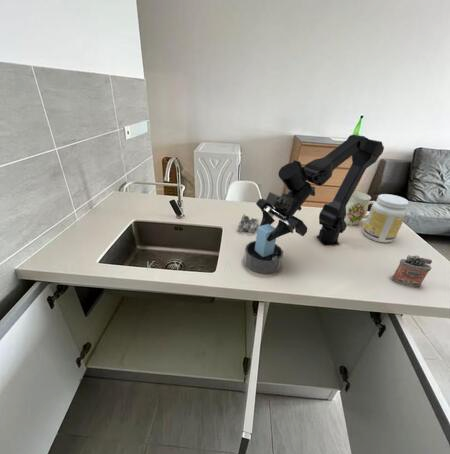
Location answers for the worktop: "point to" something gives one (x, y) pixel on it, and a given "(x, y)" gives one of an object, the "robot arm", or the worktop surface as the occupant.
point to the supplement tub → (385, 218)
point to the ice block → (264, 240)
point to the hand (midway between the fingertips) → (262, 237)
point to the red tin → (412, 271)
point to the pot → (262, 260)
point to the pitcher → (357, 208)
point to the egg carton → (248, 224)
